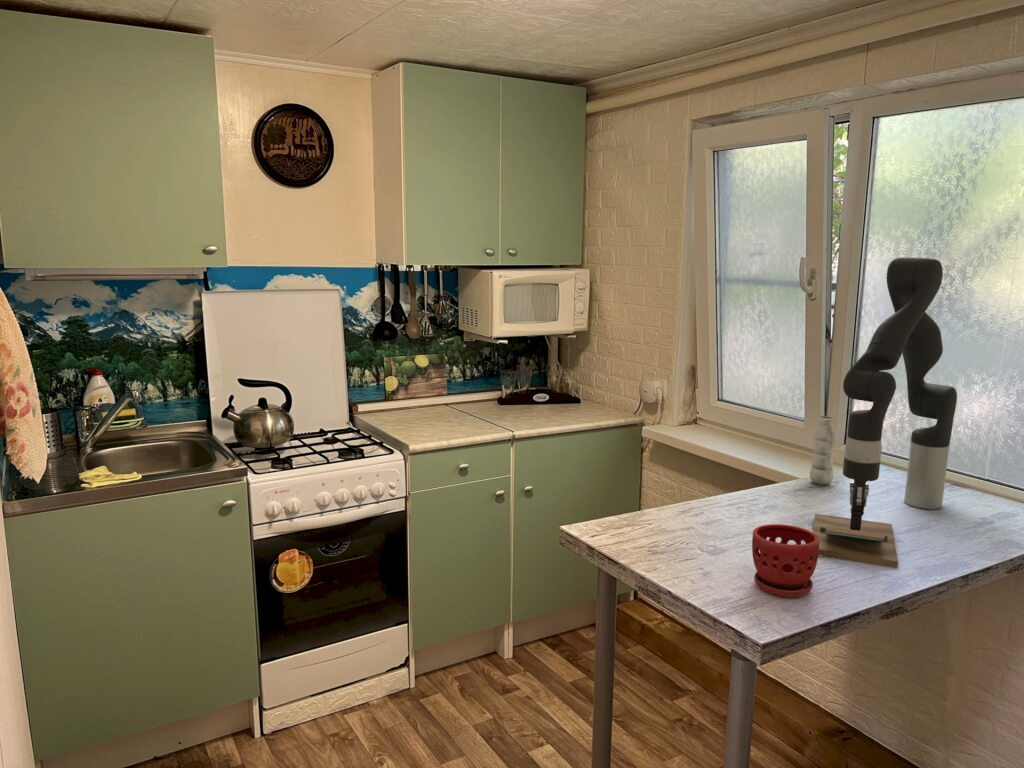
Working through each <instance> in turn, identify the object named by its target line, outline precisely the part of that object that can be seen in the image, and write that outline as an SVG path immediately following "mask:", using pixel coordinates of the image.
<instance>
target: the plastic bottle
mask: <svg viewBox="0 0 1024 768" xmlns="http://www.w3.org/2000/svg"><path fill="white" fill-rule="evenodd" d="M818 423H819V425H818V426H817V428H815V430H814V432H813V433H812V434H813V435H812V436H813V437H812V438H813V457H812V463H811V468H810V470H809V479H810V481H811V482H812V483H814V484H817V485H825V486H827V485H830V484H831V483H832V482H833V480H834V479H833V478H834V468H833V467H834V465H833V464H834V463H833V461H834V459H833V458H834V450H835V446H836V441H837V438H838V437H837V432H836V430H835V429H834V427H833V425H834V417H832V416H828V415H821V416H819V421H818Z"/></svg>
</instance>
